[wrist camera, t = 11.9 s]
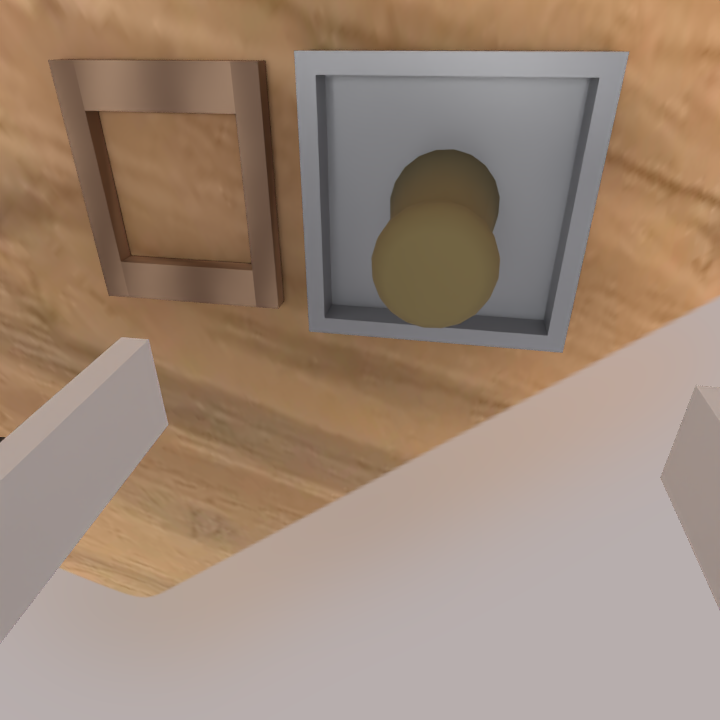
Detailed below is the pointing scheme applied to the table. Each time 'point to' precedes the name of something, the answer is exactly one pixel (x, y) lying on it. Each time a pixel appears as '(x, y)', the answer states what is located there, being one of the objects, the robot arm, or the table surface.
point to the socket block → (178, 95)
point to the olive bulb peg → (439, 241)
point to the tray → (466, 134)
